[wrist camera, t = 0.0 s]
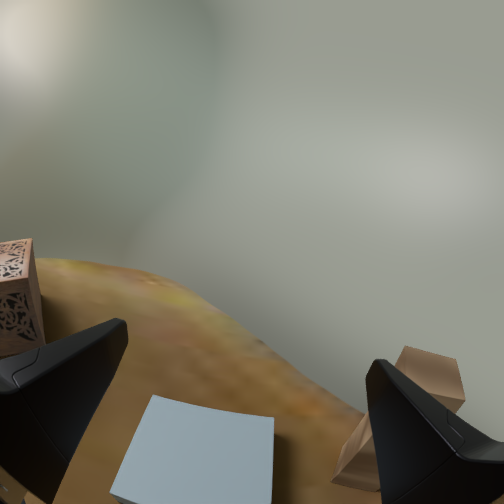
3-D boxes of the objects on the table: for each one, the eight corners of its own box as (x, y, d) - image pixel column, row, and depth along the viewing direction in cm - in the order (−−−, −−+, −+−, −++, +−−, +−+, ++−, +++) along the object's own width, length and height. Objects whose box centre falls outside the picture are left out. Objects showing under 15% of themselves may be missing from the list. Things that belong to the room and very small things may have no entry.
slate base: (263, 533, 11) (269, 528, 11) (117, 501, 12) (109, 492, 11) (268, 431, 22) (274, 417, 21) (155, 410, 22) (152, 394, 21)
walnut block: (374, 492, 15) (465, 400, 10) (330, 482, 16) (405, 387, 12) (382, 456, 18) (455, 359, 14) (342, 446, 20) (404, 345, 16)
